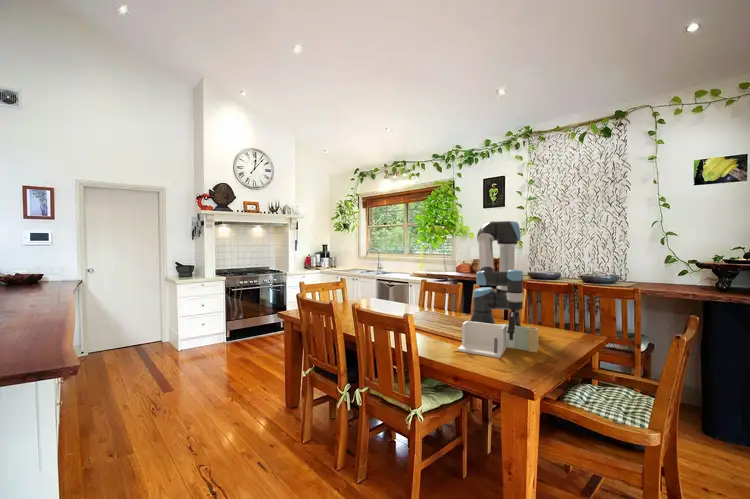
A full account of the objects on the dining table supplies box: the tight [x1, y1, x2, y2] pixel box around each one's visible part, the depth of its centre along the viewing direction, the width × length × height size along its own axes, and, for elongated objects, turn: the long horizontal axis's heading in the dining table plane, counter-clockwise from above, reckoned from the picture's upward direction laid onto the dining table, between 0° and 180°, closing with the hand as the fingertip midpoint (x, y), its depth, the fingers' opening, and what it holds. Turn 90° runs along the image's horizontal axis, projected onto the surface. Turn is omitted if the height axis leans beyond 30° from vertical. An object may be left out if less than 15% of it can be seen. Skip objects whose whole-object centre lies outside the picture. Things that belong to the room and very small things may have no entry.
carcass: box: [457, 320, 507, 359], centre depth 181 cm, size 14×20×12 cm
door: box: [499, 323, 540, 353], centre depth 184 cm, size 5×18×11 cm, turn 60°
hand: (513, 342), depth 185 cm, fingers open, 13 cm apart
